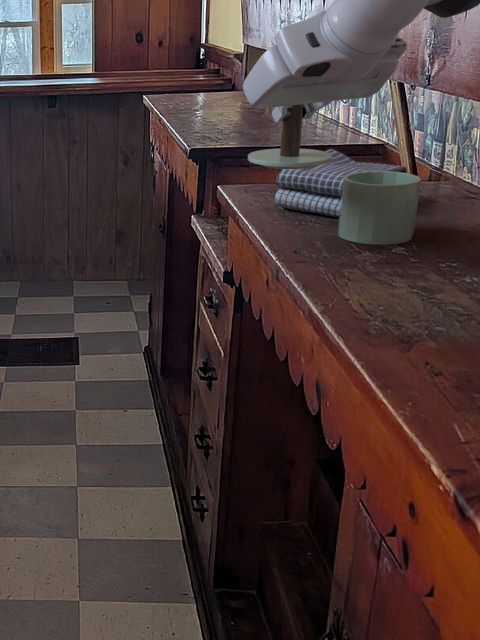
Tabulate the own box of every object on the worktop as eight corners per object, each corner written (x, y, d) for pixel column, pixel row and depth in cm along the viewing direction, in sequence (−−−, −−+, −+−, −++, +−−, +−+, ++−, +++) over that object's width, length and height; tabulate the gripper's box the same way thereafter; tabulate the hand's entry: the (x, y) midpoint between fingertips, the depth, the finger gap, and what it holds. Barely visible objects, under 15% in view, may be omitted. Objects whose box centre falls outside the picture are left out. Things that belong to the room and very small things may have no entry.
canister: (420, 231, 128) (428, 173, 125) (401, 248, 121) (409, 187, 118) (350, 223, 134) (356, 168, 131) (328, 239, 127) (333, 181, 123)
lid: (342, 159, 121) (349, 91, 118) (315, 174, 113) (322, 102, 110) (265, 154, 128) (270, 89, 124) (234, 167, 120) (238, 99, 116)
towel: (269, 211, 144) (273, 163, 141) (323, 190, 155) (328, 146, 152) (357, 224, 134) (363, 173, 131) (408, 201, 145) (415, 154, 142)
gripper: (403, 19, 110) (342, 92, 123) (268, 28, 104) (218, 104, 117) (424, 57, 108) (360, 128, 121) (288, 69, 102) (235, 142, 115)
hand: (289, 116), depth 119 cm, fingers closed on lid, 2 cm apart
